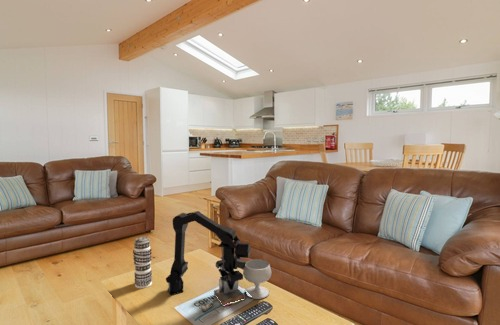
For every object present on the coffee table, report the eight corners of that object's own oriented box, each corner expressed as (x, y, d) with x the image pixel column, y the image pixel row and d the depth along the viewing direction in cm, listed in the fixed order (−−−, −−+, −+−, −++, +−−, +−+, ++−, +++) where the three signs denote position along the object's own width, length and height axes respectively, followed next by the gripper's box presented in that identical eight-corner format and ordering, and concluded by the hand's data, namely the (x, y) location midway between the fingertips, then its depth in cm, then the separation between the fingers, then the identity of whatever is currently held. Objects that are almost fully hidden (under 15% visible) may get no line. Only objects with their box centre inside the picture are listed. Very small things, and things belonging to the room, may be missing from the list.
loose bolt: (205, 312, 128) (205, 307, 128) (200, 310, 130) (201, 305, 129) (213, 306, 133) (213, 300, 133) (209, 304, 135) (209, 299, 134)
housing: (221, 294, 135) (221, 282, 135) (217, 289, 140) (217, 277, 139) (240, 289, 140) (240, 277, 140) (235, 284, 145) (235, 273, 144)
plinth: (223, 306, 133) (223, 301, 133) (214, 295, 142) (214, 290, 142) (244, 300, 138) (244, 294, 138) (234, 289, 148) (234, 284, 148)
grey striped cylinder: (132, 289, 148) (130, 241, 146) (135, 280, 157) (134, 235, 155) (151, 287, 150) (149, 240, 148) (153, 279, 159) (152, 234, 157)
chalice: (252, 283, 154) (252, 256, 153) (276, 290, 147) (276, 262, 146) (237, 295, 142) (237, 266, 141) (262, 304, 135) (262, 273, 134)
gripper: (253, 259, 134) (252, 291, 136) (235, 246, 151) (235, 275, 152) (231, 264, 129) (231, 298, 130) (215, 250, 145) (215, 280, 147)
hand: (228, 286), depth 140 cm, fingers closed on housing, 5 cm apart
